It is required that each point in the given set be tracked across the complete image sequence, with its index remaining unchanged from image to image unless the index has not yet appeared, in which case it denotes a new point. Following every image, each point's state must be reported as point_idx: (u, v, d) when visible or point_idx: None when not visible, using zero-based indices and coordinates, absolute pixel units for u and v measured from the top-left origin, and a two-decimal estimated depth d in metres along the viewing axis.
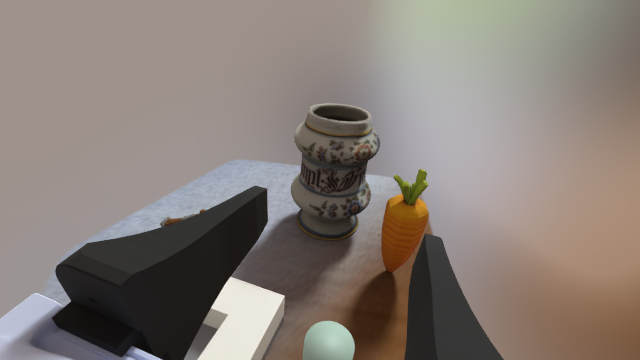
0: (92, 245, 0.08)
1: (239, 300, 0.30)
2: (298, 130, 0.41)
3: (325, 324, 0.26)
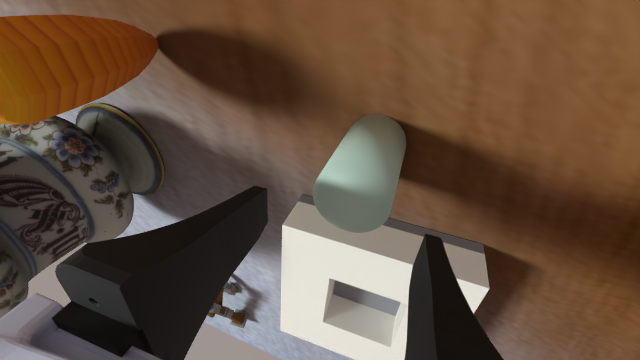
0: (92, 245, 0.08)
1: (307, 269, 0.24)
2: None
3: (321, 205, 0.16)
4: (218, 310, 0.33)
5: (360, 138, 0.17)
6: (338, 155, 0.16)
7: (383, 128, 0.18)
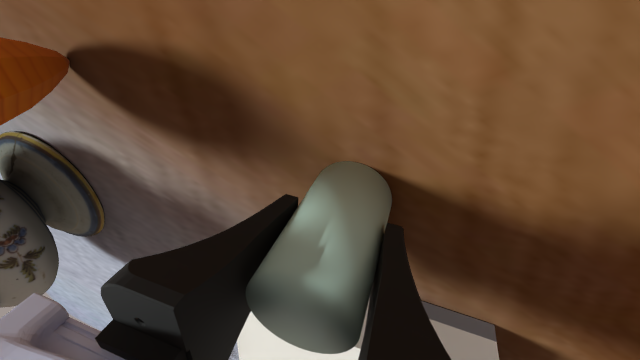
0: (137, 262, 0.08)
1: (268, 350, 0.19)
2: None
3: (259, 314, 0.11)
4: None
5: (320, 208, 0.12)
6: (284, 242, 0.10)
7: (357, 187, 0.13)
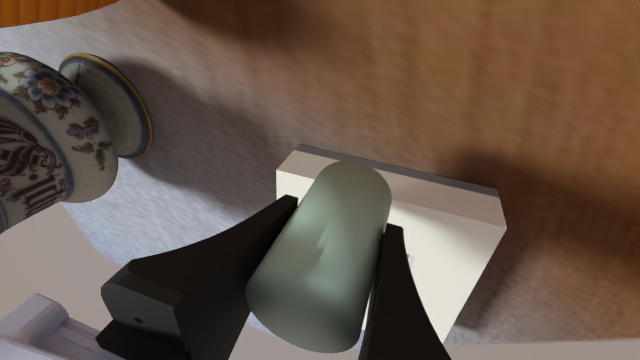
0: (137, 262, 0.08)
1: None
2: None
3: (259, 313, 0.11)
4: None
5: (320, 207, 0.12)
6: (283, 240, 0.10)
7: (357, 186, 0.13)
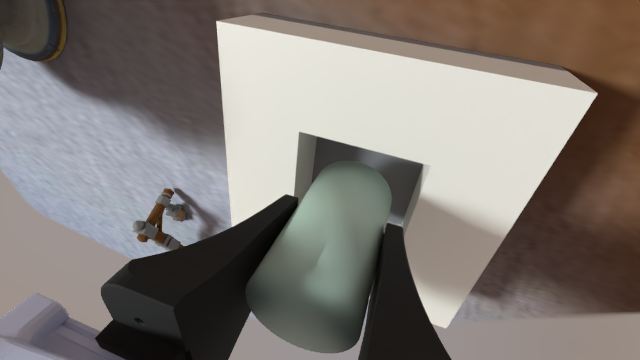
0: (137, 262, 0.08)
1: (263, 119, 0.14)
2: None
3: (260, 313, 0.11)
4: (154, 234, 0.24)
5: (320, 207, 0.12)
6: (283, 241, 0.10)
7: (356, 186, 0.13)
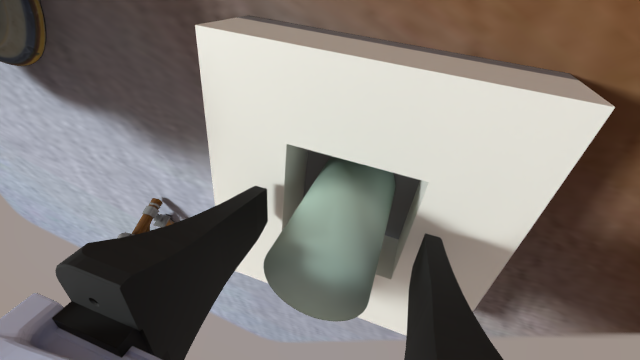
0: (93, 245, 0.08)
1: (248, 131, 0.13)
2: None
3: (276, 285, 0.12)
4: None
5: (330, 189, 0.13)
6: (298, 218, 0.11)
7: (363, 171, 0.14)
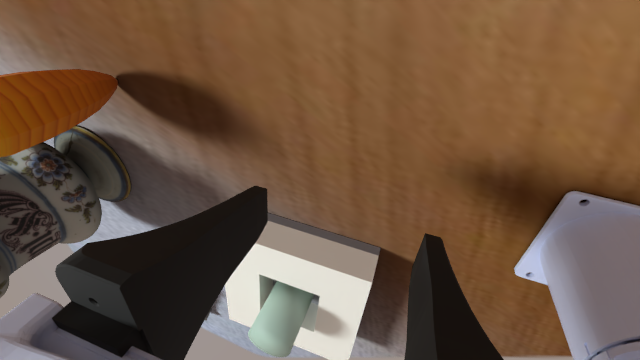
0: (92, 245, 0.08)
1: (241, 267, 0.29)
2: None
3: (254, 341, 0.27)
4: None
5: (278, 297, 0.28)
6: (262, 313, 0.27)
7: None
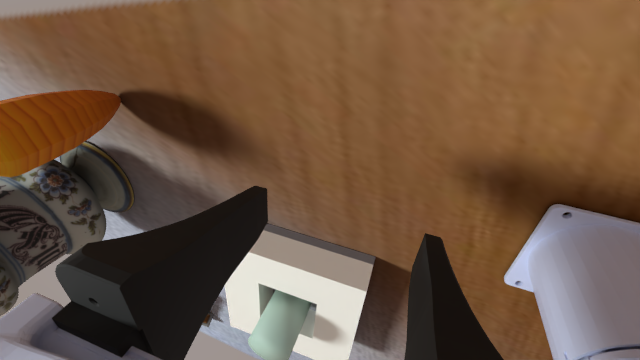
0: (93, 245, 0.08)
1: (241, 276, 0.30)
2: None
3: (254, 348, 0.28)
4: None
5: (277, 305, 0.29)
6: (261, 321, 0.28)
7: None
